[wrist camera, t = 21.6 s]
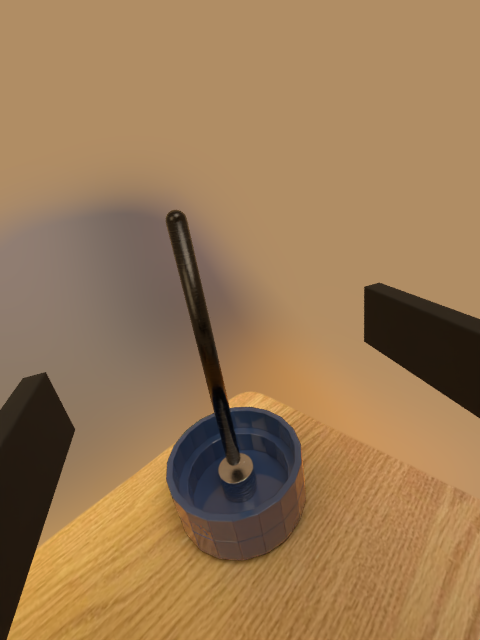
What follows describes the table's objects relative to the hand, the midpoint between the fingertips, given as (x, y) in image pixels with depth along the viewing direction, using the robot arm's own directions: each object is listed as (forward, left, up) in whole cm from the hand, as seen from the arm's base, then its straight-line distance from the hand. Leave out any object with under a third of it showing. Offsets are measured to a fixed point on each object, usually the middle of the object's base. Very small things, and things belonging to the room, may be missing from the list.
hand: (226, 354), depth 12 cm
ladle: (+7, -4, -18) cm, 19 cm away
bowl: (+6, -4, -18) cm, 20 cm away
